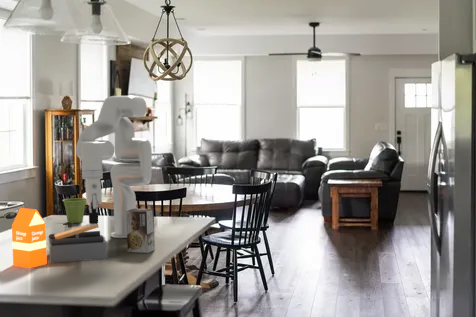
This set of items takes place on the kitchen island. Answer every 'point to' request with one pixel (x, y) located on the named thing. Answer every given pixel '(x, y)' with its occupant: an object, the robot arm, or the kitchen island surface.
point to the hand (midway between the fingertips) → (93, 223)
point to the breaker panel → (77, 251)
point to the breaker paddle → (76, 231)
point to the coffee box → (140, 230)
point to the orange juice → (29, 239)
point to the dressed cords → (87, 238)
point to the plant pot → (74, 209)
